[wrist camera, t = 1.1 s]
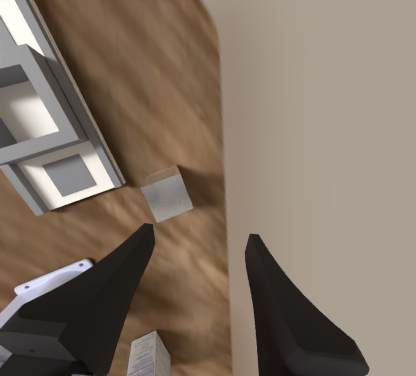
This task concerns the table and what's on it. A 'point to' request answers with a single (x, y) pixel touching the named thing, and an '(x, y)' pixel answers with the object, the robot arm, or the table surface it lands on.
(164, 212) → the steel square block
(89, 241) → the table surface
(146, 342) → the medicine box
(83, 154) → the frame
